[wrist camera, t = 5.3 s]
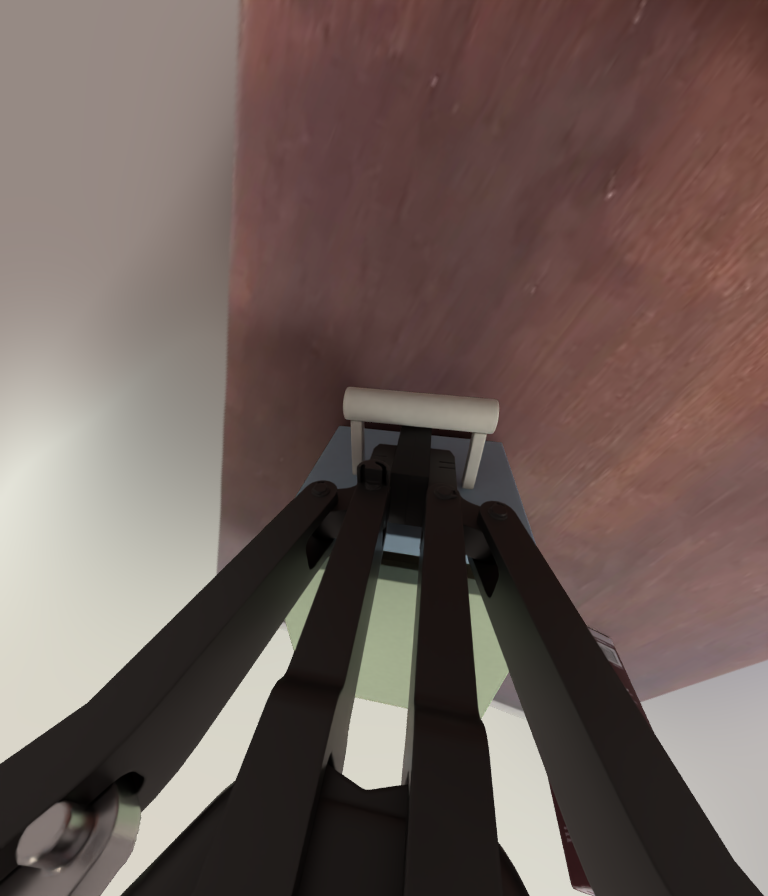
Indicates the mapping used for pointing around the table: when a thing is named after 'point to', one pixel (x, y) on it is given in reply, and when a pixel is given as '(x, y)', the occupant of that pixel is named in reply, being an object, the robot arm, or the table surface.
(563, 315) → the table surface
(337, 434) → the drawer
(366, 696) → the green box-shaped shell
